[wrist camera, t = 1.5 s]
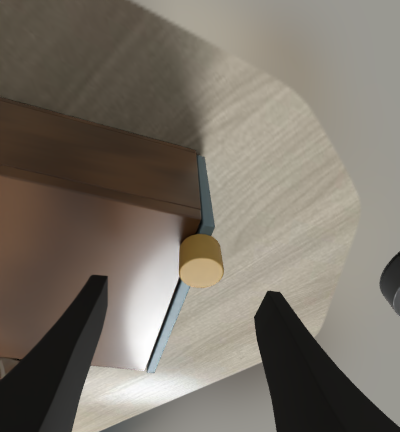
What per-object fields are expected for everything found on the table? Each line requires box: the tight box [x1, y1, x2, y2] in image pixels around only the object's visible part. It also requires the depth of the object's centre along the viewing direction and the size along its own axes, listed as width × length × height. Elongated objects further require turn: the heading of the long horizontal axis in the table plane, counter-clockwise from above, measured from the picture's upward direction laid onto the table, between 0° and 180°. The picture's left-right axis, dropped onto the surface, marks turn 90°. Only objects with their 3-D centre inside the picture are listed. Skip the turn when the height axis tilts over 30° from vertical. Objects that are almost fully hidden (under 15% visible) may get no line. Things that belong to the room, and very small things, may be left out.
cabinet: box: [0, 97, 201, 371], centre depth 18 cm, size 14×15×8 cm
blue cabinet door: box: [147, 155, 224, 373], centre depth 19 cm, size 2×14×10 cm, turn 163°
